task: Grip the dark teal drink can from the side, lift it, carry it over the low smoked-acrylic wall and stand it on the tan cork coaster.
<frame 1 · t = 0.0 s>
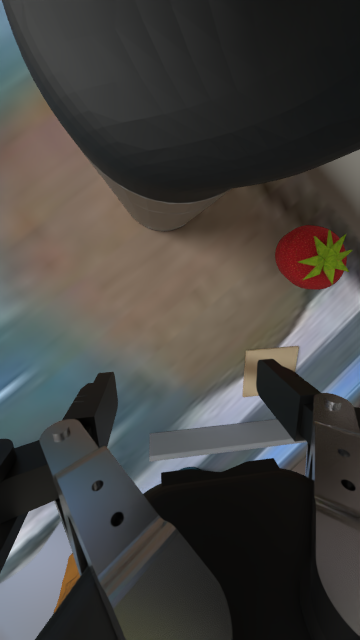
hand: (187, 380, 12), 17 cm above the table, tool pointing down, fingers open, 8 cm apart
strawberry: (281, 256, 28), on the table
coffee package: (105, 550, 43), on the table
acrylic wall: (222, 427, 36), on the table
coaster: (269, 371, 33), on the table
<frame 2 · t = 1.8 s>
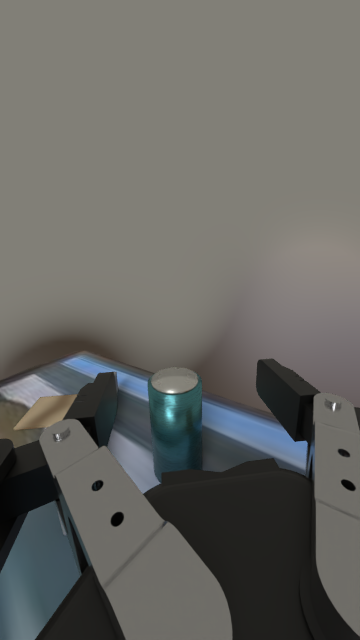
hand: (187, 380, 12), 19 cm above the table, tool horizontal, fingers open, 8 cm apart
coaster: (52, 410, 38), on the table
can: (178, 464, 27), on the table
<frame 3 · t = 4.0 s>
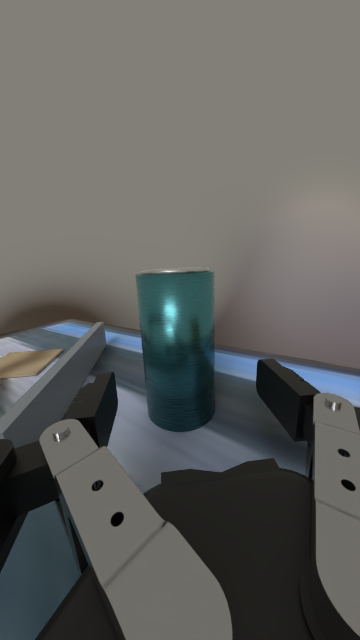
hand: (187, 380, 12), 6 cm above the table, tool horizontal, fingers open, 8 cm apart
acrylic wall: (78, 383, 25), on the table
coaster: (21, 363, 30), on the table
can: (181, 406, 20), on the table
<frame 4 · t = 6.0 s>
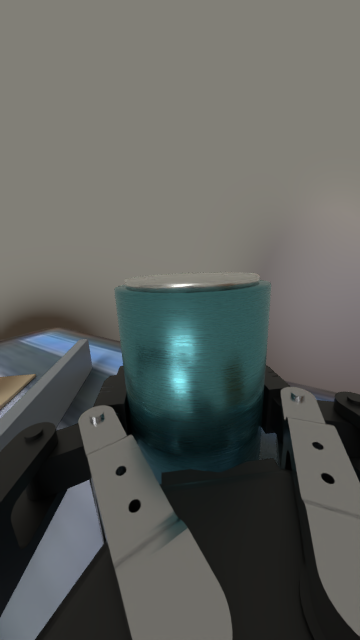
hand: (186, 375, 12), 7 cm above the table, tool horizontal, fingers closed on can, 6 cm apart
acrylic wall: (41, 441, 17), on the table
can: (196, 504, 12), on the table, touching gripper
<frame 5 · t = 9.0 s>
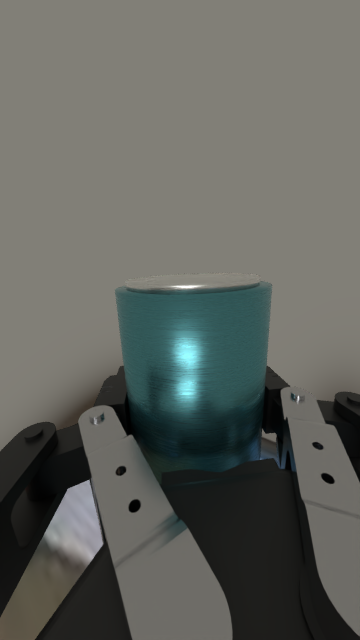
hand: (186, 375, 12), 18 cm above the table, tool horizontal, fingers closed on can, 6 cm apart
can: (197, 505, 12), point 11 cm above the table, touching gripper
when the fingers open (7 cm above the table, at t = 11.8 s): can stays where it is, resting on coaster.
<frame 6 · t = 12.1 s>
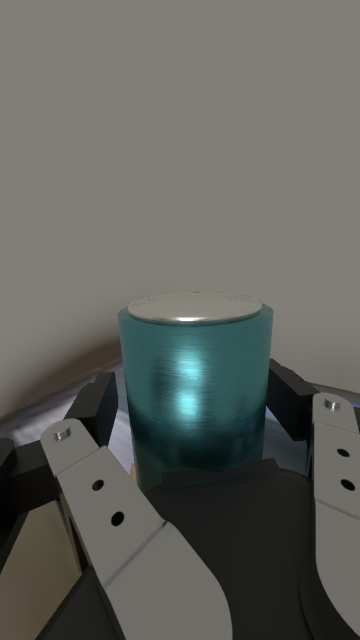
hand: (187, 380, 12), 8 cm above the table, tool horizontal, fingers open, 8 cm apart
can: (197, 521, 12), resting on coaster
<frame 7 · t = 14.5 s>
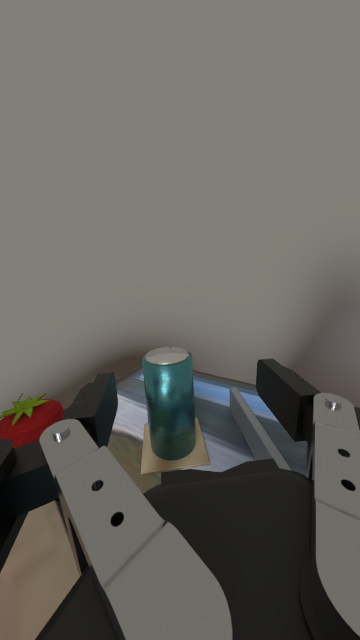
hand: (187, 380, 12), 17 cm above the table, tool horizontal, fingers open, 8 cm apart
strawberry: (41, 461, 28), on the table
acrylic wall: (271, 480, 23), on the table
coaster: (173, 442, 29), on the table
can: (173, 441, 29), resting on coaster
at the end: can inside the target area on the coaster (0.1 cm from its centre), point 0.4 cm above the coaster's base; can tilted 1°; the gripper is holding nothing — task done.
